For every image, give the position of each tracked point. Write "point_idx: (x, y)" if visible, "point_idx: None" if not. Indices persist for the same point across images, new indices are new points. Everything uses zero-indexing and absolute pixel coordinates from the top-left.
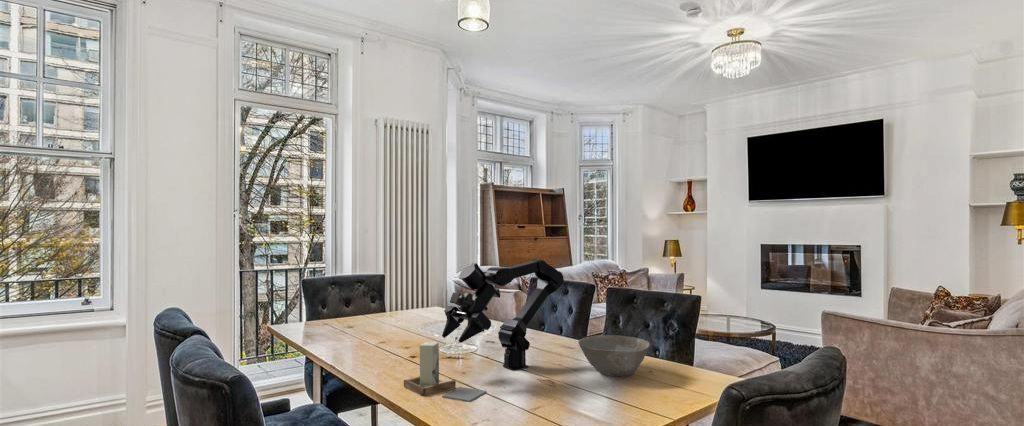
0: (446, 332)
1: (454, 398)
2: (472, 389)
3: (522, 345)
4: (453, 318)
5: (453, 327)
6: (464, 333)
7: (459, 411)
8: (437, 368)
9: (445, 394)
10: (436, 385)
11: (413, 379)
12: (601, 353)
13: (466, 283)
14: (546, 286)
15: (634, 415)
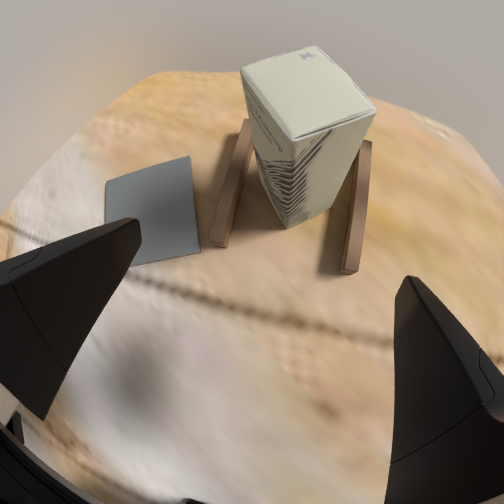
0: (411, 324)
1: (148, 167)
2: (146, 255)
3: None
4: (467, 493)
5: (409, 436)
6: (65, 238)
7: (103, 133)
8: (276, 188)
9: (187, 168)
10: (230, 162)
11: (358, 166)
12: None
13: None
14: None
15: None
